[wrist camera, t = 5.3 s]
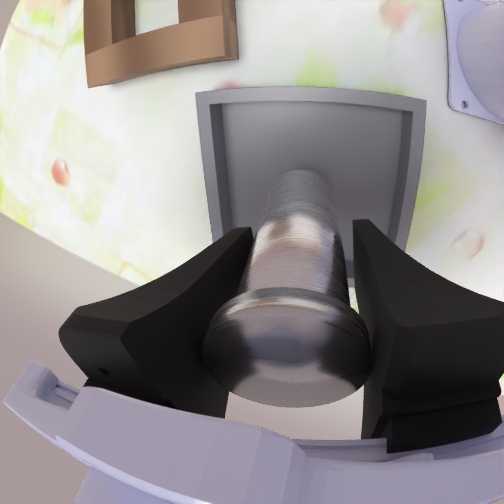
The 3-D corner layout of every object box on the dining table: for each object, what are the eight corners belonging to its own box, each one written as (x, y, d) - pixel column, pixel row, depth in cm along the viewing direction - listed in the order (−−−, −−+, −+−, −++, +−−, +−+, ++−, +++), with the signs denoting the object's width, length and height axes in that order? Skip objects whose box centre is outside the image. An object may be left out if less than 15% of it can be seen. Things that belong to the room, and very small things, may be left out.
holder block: (230, -61, 9) (217, -77, 6) (238, 59, 13) (224, 55, 11) (107, -21, 10) (84, -27, 8) (112, 84, 15) (88, 88, 13)
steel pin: (339, 156, 12) (380, 309, 5) (346, 233, 14) (364, 404, 7) (251, 167, 13) (173, 317, 6) (268, 240, 15) (228, 403, 8)
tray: (411, 97, 12) (426, 100, 10) (388, 266, 18) (393, 290, 16) (212, 90, 15) (195, 92, 13) (228, 254, 21) (218, 275, 19)
